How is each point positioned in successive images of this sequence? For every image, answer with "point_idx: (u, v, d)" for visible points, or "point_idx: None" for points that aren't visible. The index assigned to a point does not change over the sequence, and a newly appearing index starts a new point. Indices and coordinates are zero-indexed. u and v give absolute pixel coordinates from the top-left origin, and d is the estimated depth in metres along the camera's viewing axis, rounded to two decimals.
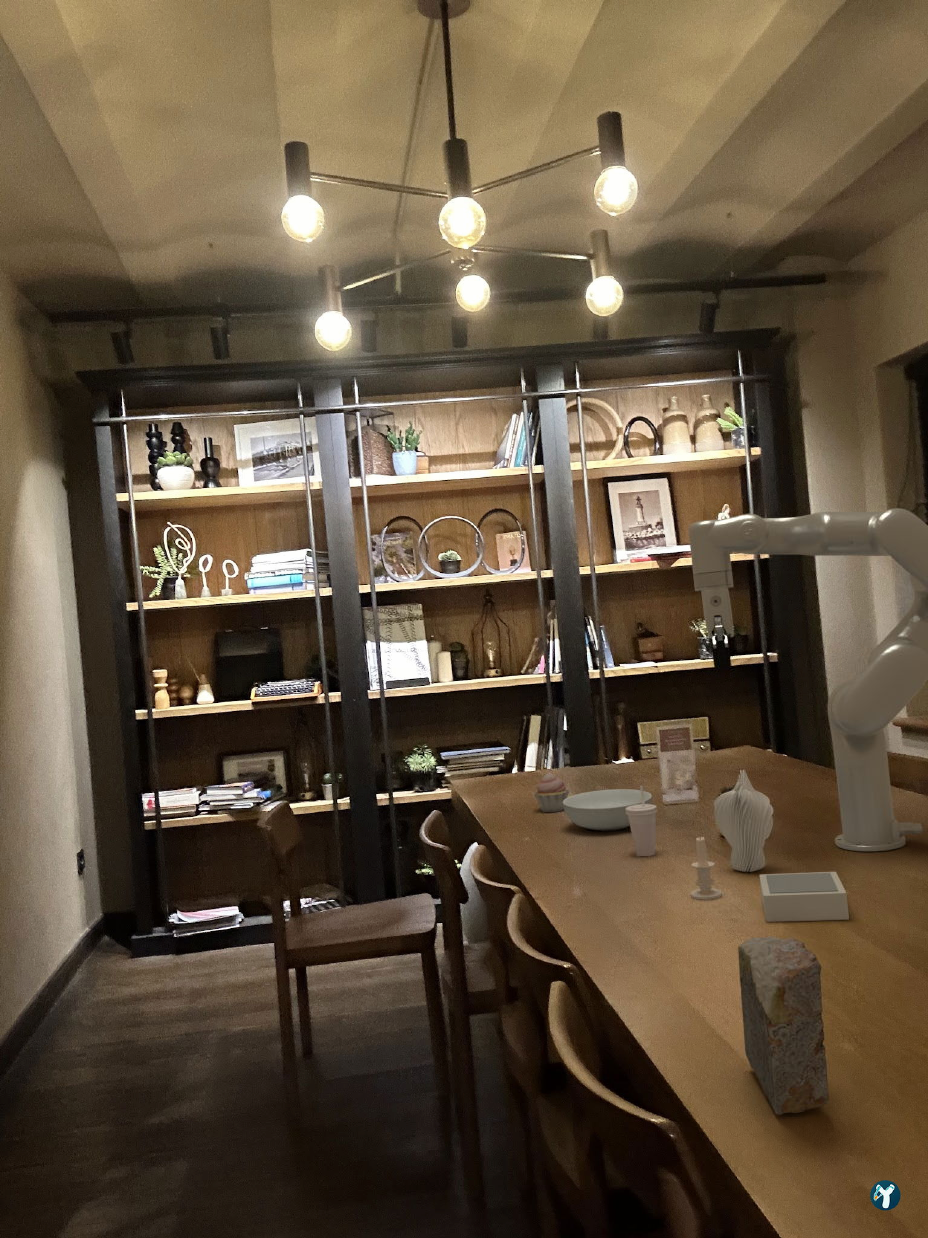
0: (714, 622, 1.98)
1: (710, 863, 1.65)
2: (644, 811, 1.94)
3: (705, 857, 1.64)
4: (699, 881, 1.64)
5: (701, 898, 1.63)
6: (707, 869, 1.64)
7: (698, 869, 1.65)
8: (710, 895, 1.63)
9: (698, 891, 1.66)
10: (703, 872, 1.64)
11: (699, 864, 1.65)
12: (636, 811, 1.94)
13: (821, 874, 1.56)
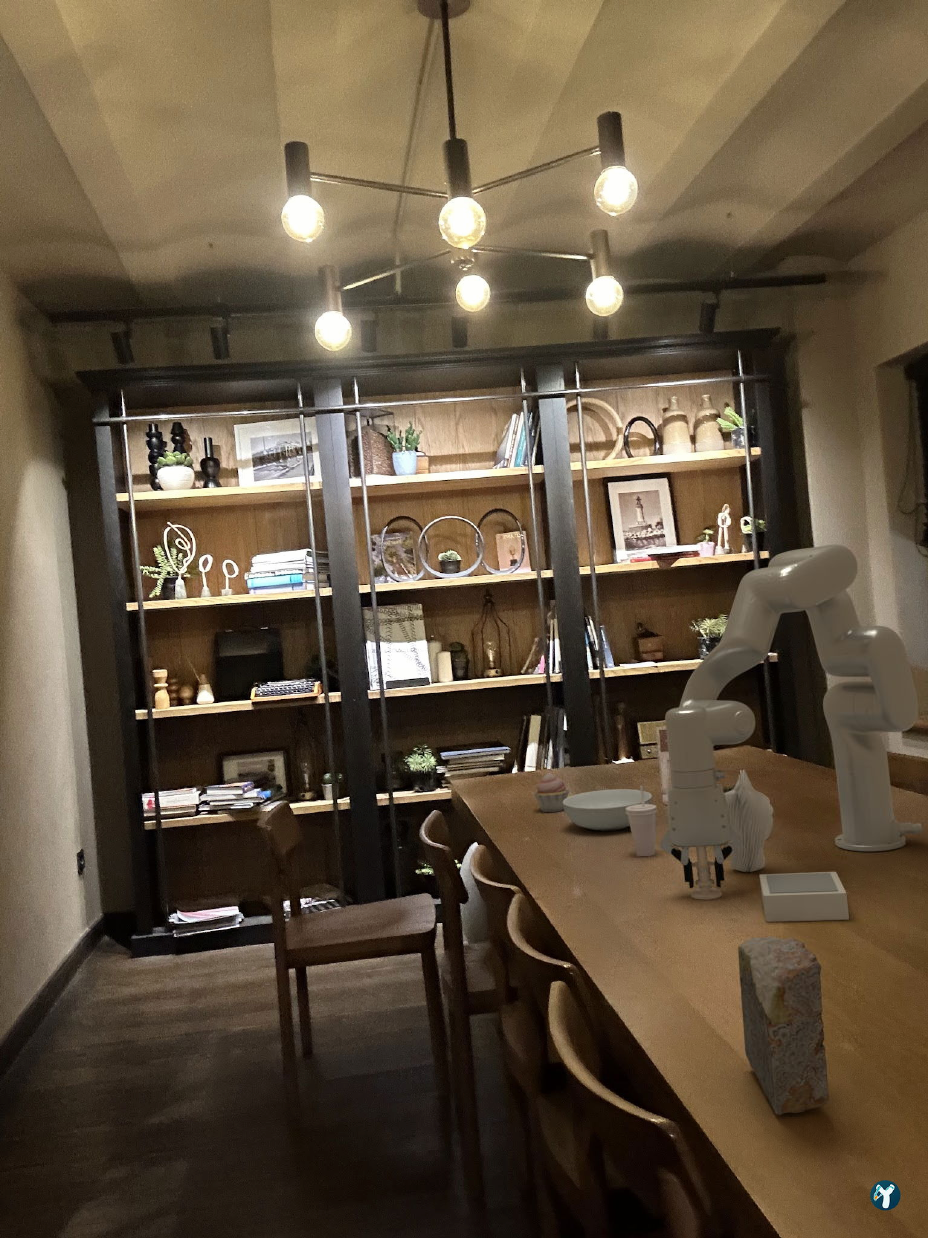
0: None
1: (710, 863, 1.65)
2: (644, 811, 1.94)
3: (705, 857, 1.64)
4: (699, 881, 1.64)
5: (701, 898, 1.63)
6: (707, 869, 1.64)
7: (698, 869, 1.65)
8: (710, 895, 1.63)
9: (698, 891, 1.66)
10: (703, 872, 1.64)
11: (699, 864, 1.65)
12: (636, 811, 1.94)
13: (821, 874, 1.56)
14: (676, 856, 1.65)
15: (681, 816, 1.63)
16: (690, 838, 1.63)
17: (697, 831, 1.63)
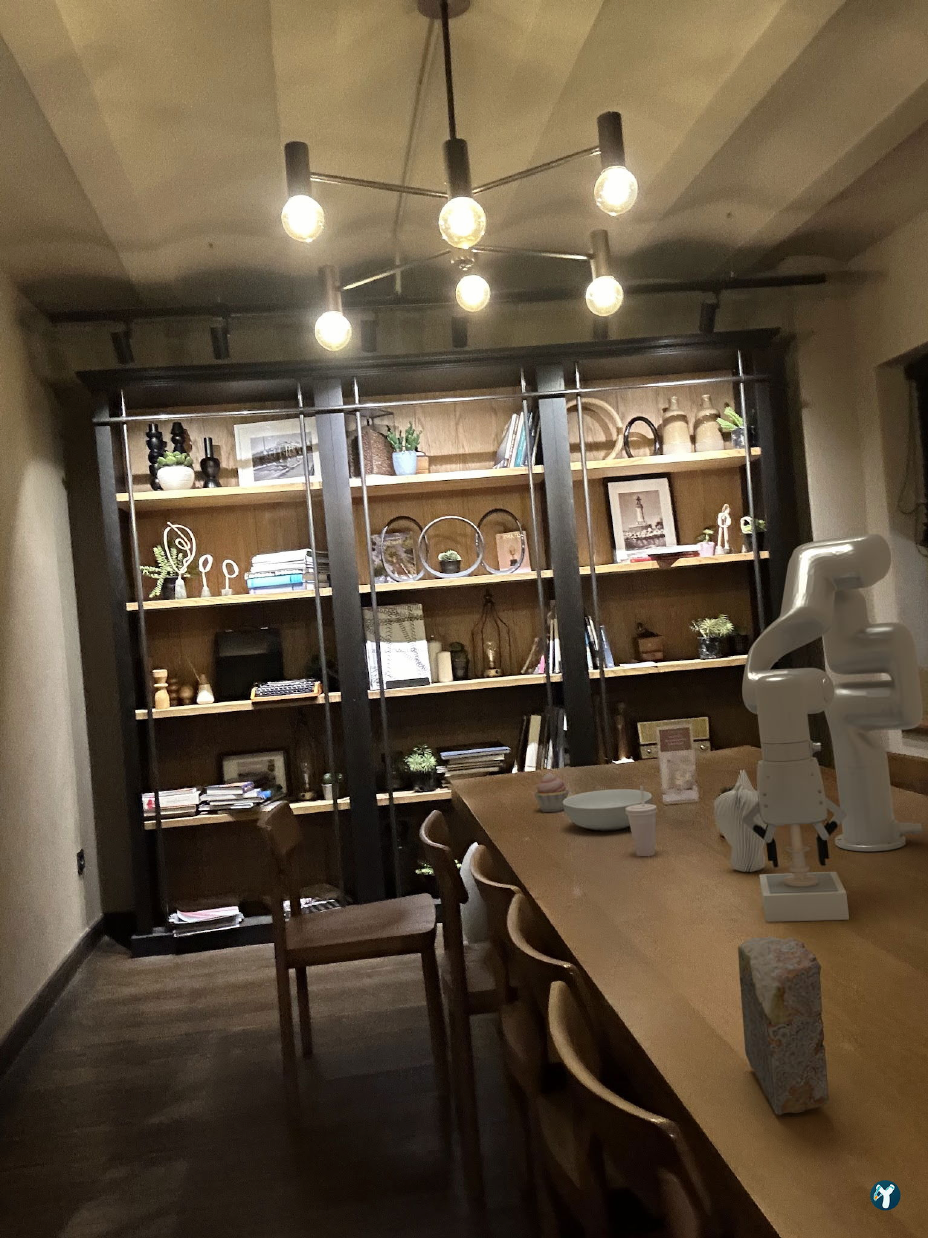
0: None
1: (805, 847, 1.53)
2: (644, 811, 1.94)
3: (800, 841, 1.52)
4: (794, 867, 1.52)
5: (797, 885, 1.51)
6: (802, 854, 1.52)
7: (792, 854, 1.52)
8: (806, 882, 1.51)
9: (792, 877, 1.53)
10: (798, 857, 1.52)
11: (793, 848, 1.52)
12: (636, 811, 1.94)
13: (821, 874, 1.56)
14: (759, 833, 1.53)
15: (774, 792, 1.51)
16: (783, 816, 1.51)
17: (791, 808, 1.51)
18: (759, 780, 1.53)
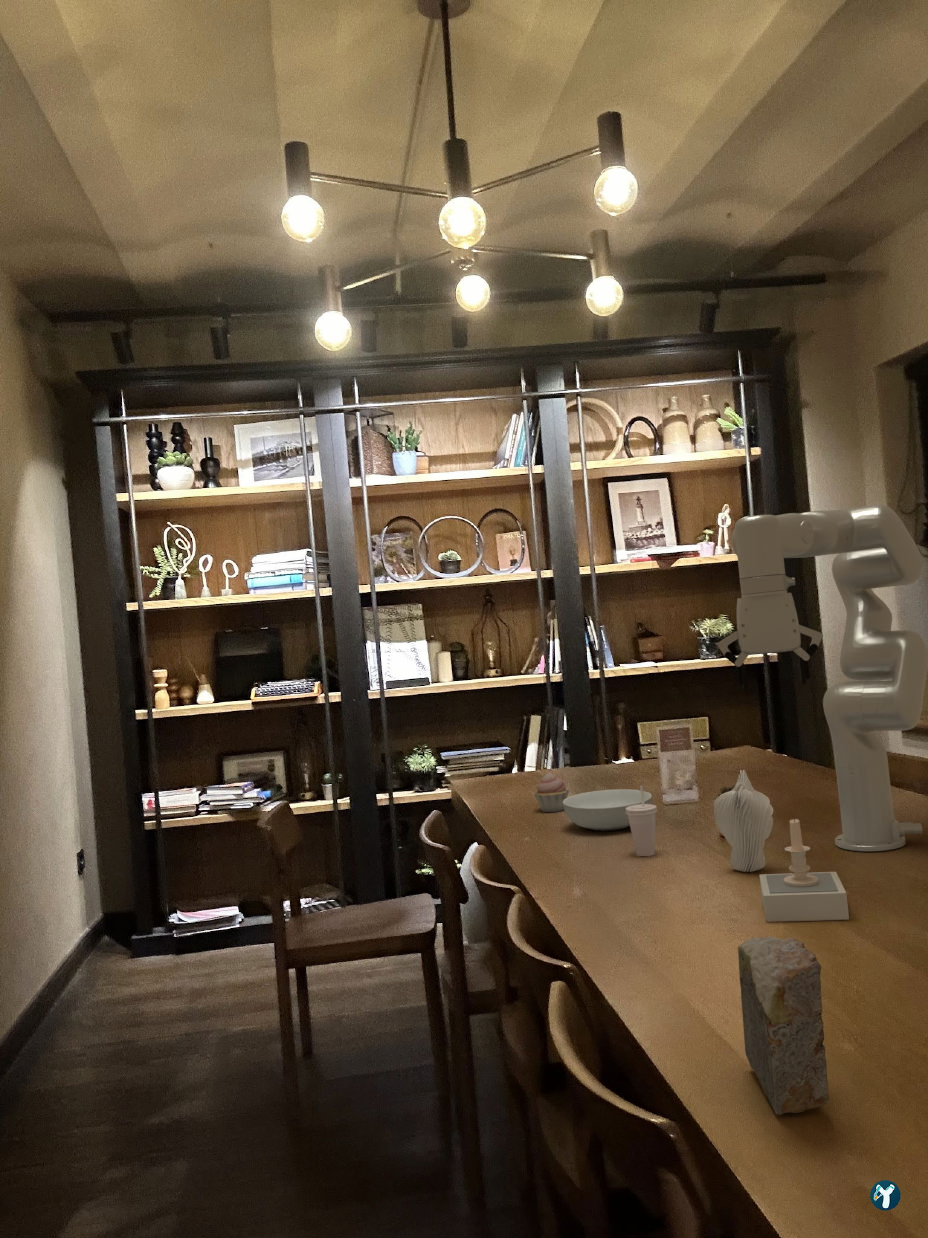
0: None
1: (805, 847, 1.53)
2: (644, 811, 1.94)
3: (800, 841, 1.52)
4: (794, 867, 1.52)
5: (797, 885, 1.51)
6: (802, 854, 1.52)
7: (792, 854, 1.52)
8: (806, 882, 1.51)
9: (792, 877, 1.53)
10: (798, 857, 1.52)
11: (793, 848, 1.52)
12: (636, 811, 1.94)
13: (821, 874, 1.56)
14: (730, 658, 1.67)
15: (751, 622, 1.64)
16: (760, 644, 1.64)
17: (768, 636, 1.63)
18: (738, 613, 1.66)
